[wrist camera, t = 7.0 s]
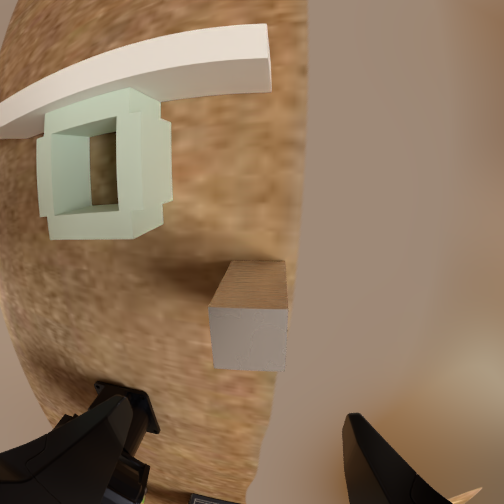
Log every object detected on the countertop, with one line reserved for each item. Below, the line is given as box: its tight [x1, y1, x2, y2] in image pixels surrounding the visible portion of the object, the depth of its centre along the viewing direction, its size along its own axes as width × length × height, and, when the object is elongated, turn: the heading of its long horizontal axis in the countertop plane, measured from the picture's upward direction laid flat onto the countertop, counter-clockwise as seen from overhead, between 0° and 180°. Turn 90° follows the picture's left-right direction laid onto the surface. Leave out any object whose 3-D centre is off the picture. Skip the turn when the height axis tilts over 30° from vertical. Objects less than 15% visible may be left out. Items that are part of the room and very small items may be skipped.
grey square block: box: [208, 260, 288, 371], centre depth 16 cm, size 4×4×7 cm
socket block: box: [36, 87, 173, 240], centre depth 16 cm, size 9×9×4 cm
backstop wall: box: [0, 24, 272, 139], centre depth 14 cm, size 2×22×6 cm, turn 91°
